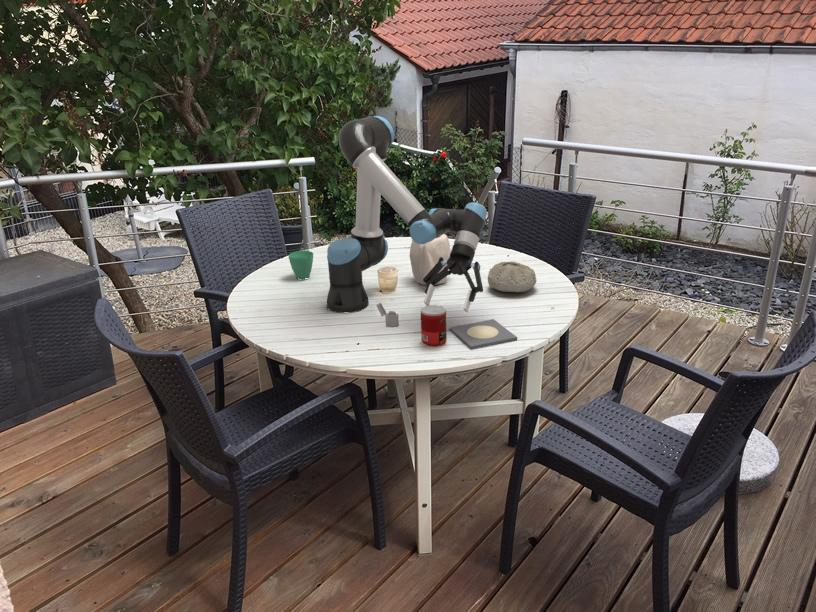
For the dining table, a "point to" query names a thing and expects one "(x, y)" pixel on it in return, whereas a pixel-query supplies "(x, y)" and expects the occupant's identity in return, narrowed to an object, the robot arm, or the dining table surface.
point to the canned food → (433, 325)
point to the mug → (301, 263)
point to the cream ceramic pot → (428, 257)
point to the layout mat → (482, 334)
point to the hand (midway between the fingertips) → (445, 307)
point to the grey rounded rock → (511, 277)
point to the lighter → (389, 316)
